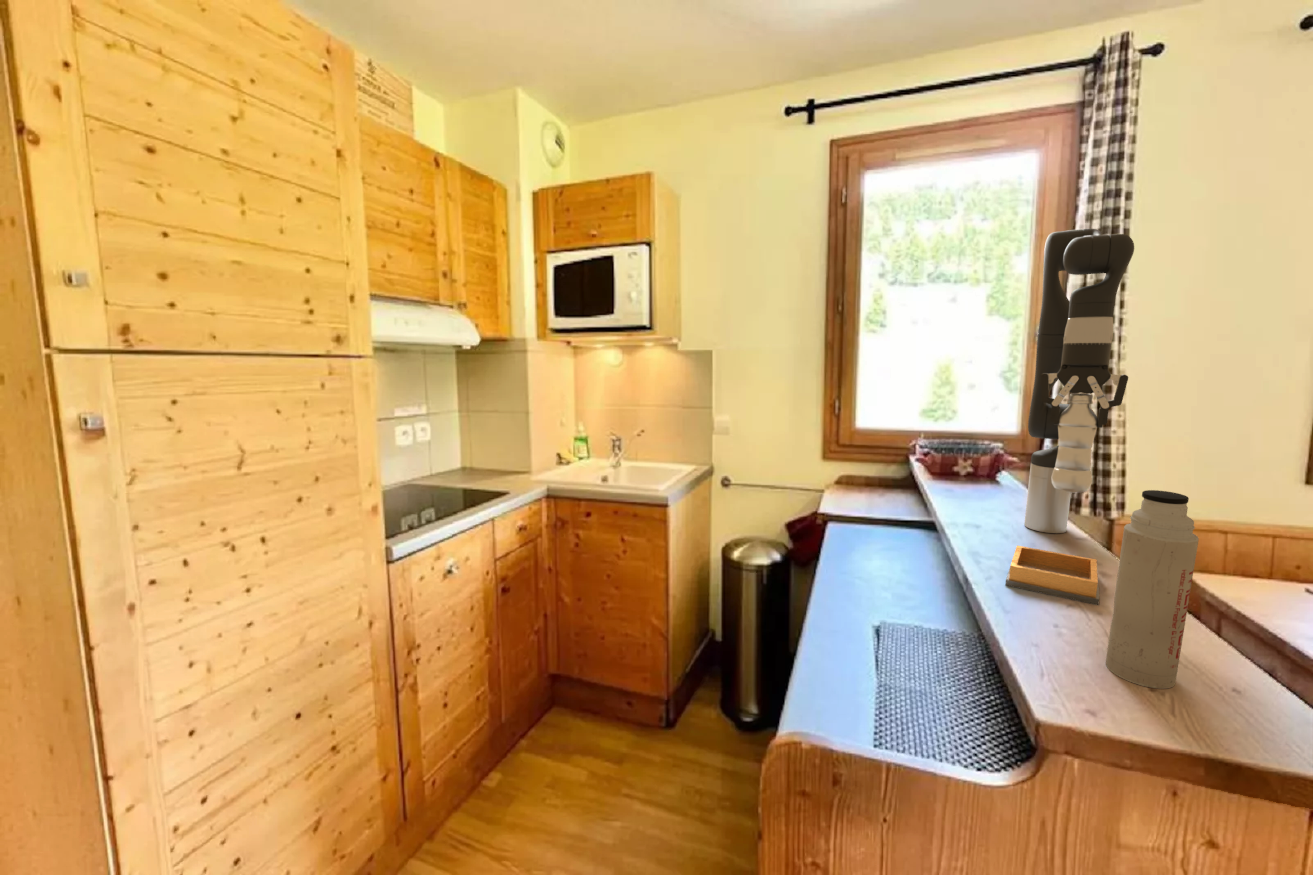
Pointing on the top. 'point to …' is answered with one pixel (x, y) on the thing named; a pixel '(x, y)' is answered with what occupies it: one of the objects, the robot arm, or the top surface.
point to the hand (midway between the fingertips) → (1077, 425)
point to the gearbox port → (1054, 574)
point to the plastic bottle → (1075, 445)
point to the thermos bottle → (1152, 591)
